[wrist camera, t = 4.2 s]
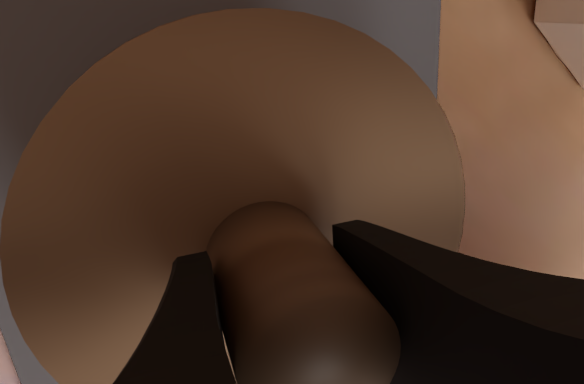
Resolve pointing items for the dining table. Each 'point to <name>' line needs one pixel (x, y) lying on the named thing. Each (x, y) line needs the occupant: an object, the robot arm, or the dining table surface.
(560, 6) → the bowl
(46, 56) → the mat
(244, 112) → the lid
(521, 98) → the dining table surface
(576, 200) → the dining table surface
